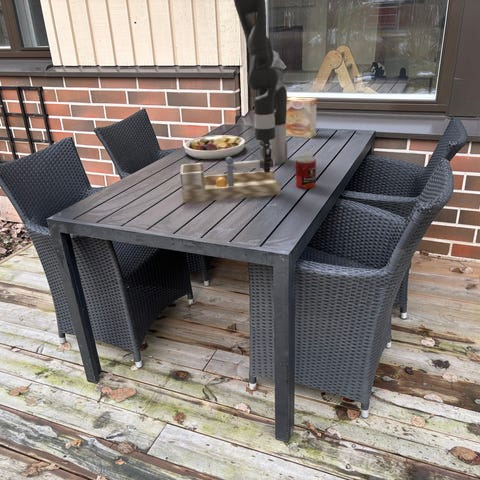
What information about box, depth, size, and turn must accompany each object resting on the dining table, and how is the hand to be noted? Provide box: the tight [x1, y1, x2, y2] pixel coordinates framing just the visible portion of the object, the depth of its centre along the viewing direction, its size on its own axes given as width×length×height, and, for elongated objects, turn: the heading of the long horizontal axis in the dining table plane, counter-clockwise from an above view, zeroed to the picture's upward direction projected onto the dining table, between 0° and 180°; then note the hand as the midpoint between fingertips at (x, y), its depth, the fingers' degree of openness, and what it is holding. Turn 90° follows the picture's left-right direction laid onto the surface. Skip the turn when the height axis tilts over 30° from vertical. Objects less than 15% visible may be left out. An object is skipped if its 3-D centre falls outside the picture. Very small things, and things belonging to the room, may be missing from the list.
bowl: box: [183, 134, 246, 160], centre depth 237 cm, size 30×30×8 cm
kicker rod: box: [225, 156, 276, 186], centre depth 182 cm, size 18×4×11 cm, turn 95°
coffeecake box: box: [286, 96, 317, 139], centre depth 253 cm, size 15×7×20 cm, turn 55°
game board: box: [179, 162, 282, 204], centre depth 183 cm, size 36×16×10 cm, turn 95°
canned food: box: [295, 155, 317, 190], centre depth 184 cm, size 8×8×11 cm
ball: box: [216, 177, 227, 187], centre depth 184 cm, size 4×4×4 cm
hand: (266, 170), depth 183 cm, fingers closed on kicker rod, 3 cm apart
